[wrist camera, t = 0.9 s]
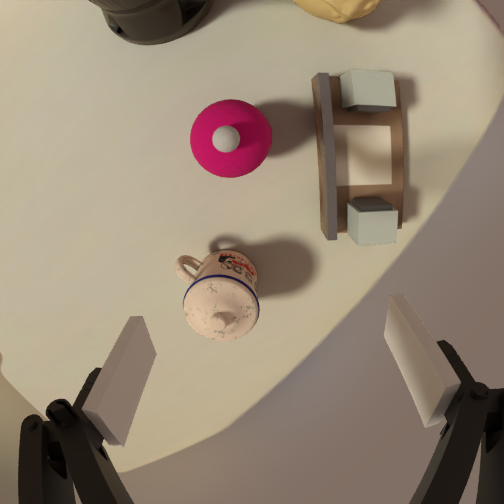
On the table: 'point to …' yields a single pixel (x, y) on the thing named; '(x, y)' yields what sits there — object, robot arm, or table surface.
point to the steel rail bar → (327, 154)
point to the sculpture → (338, 8)
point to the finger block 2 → (371, 221)
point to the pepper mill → (230, 138)
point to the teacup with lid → (220, 294)
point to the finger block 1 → (367, 91)
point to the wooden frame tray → (364, 155)
